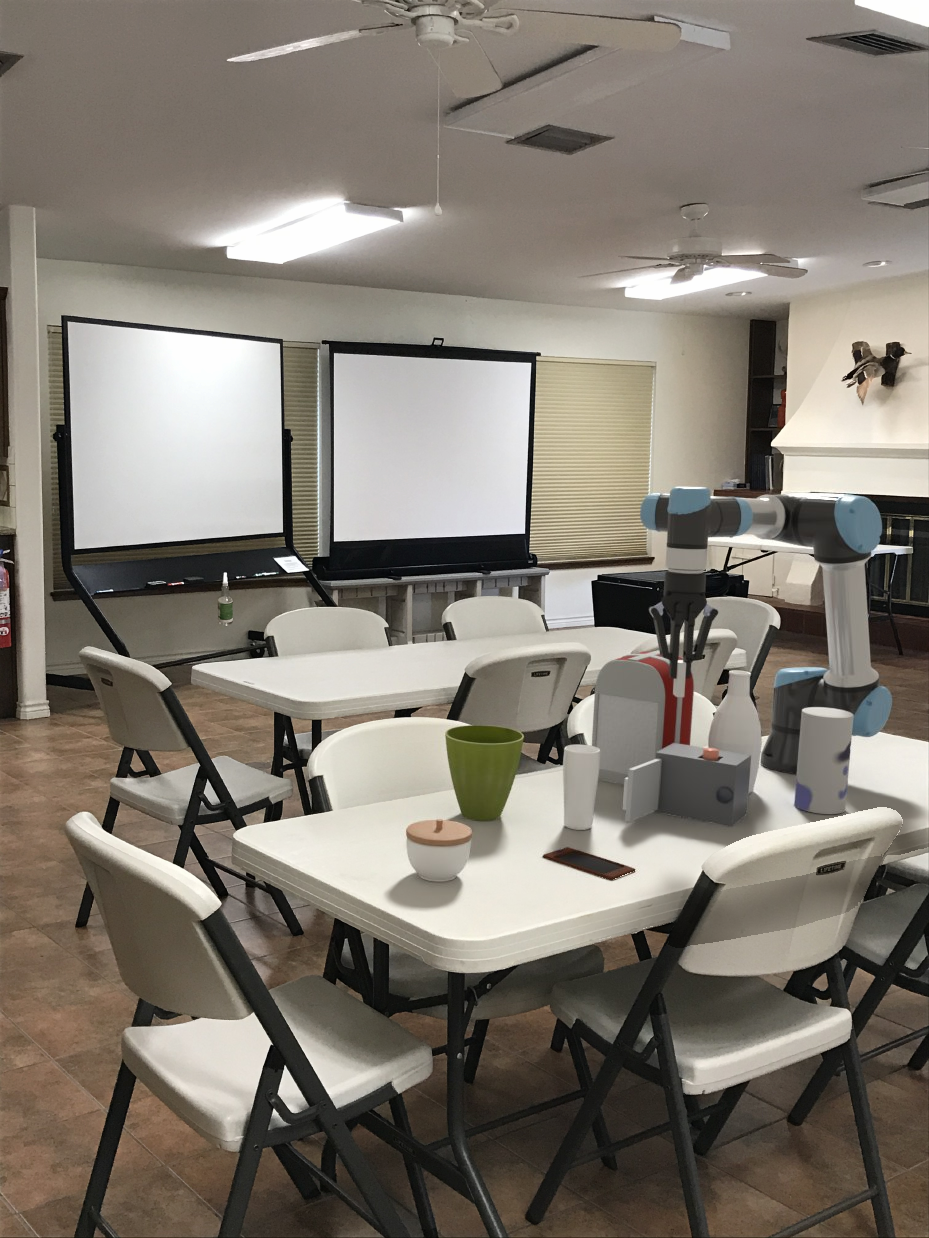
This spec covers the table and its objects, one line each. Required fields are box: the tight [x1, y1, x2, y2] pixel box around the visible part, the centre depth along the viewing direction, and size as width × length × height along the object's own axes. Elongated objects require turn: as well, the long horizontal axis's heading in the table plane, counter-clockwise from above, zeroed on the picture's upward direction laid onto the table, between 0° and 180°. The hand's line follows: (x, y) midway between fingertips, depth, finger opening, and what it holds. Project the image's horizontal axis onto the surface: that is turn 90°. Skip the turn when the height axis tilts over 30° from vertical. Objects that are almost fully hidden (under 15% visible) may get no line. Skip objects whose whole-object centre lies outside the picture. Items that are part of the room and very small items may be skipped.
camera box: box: [652, 743, 751, 828], centre depth 234 cm, size 11×16×12 cm
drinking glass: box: [562, 744, 600, 831], centre depth 222 cm, size 7×7×15 cm
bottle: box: [707, 669, 763, 795], centre depth 252 cm, size 11×11×25 cm
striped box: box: [591, 649, 695, 786], centre depth 260 cm, size 16×18×27 cm
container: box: [793, 707, 854, 815], centre depth 241 cm, size 10×10×20 cm
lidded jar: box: [405, 818, 473, 883], centre depth 193 cm, size 11×11×9 cm
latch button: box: [703, 747, 719, 761], centre depth 231 cm, size 3×3×2 cm
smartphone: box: [542, 846, 636, 881], centre depth 203 cm, size 7×1×15 cm
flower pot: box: [444, 724, 525, 822], centre depth 226 cm, size 15×15×16 cm
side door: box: [622, 758, 662, 823], centre depth 229 cm, size 2×12×10 cm, turn 143°
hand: (678, 695), depth 224 cm, fingers closed
